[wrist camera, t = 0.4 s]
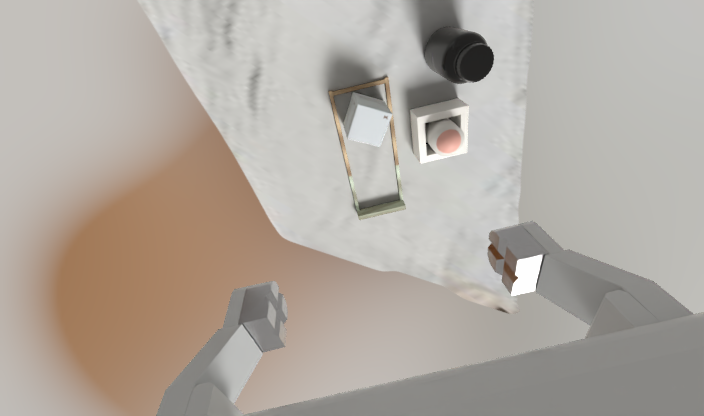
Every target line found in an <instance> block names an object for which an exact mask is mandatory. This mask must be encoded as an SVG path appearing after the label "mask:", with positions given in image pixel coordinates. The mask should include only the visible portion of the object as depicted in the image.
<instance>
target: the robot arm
mask: <svg viewBox="0 0 704 416" xmlns="http://www.w3.org/2000/svg"><path fill="white" fill-rule="evenodd" d="M489 240H490V241H491V245H490V246H489V247H488V258H489V262H490V264H491V266H492V268H493V269H494V271H495V272H497V273H499V274H501V275H502V282H503V284H504V285H505V287H506V288H507V290H508V291H509V292H510V294H511V295H517V294H522V293H527V292H532V291H536V292H537V293H538V294H540V295H541V296H543V297H544V298H546V299H548V300H550V301H551V302H553V303H554V304H556V305H557V306H559V307H561V308H562V309H564V310H566V311H567V312H569V313H571V314H572V315H574V316H575V317H577V318H579V319H580V320H582V321H584V322H585V323H587V324H589V325H590V328H589V330H588V332H587V334H586V337H585V339H581V340H577V341H572V342H568V343H563V344H559V345H554V346H550V347H545V348H541V349H536V350H532V351H528V352H523V353H518V354H514V355H509V356H505V357H500V358H496V359H492V360H487V361H482V362H478V363H474V364H469V365H464V366H460V367H455V368H451V369H447V370H442V371H438V372H433V373H429V374H424V375H420V376H415V377H411V378H407V379H402V380H397V381H393V382H388V383H384V384H380V385H375V386H371V387H367V388H362V389H357V390H353V391H348V392H344V393H339V394H335V395H331V396H326V397H321V398H317V399H312V400H308V401H304V402H299V403H294V404H290V405H285V406H281V407H277V408H272V409H268V410H263V411H259V412H254V413H250V414H245V415H244V414H243V413H242V412H241V411H240V410H239V409H238V408H237V407H236V406H235V405H234V403H235V401H236V399H237V398H238V396H239V394H240V393H241V391H242V389H243V387H244V386H245V384H246V382H247V380H248V379H249V377H250V375H251V373H252V372H253V370H254V368H255V366H256V365H257V363H258V361H259V360H260V358H261V356H262V354H263V352H267V351H270V350H274V349H278V348H282V347H285V343H286V328H285V327H284V325H283V324H284V323H285V322H286V320H287V304H286V301H285V299H284V297H283V294H281V293H278V290H279V286H278V285H277V283H276V282H275V281H271V282H266V283H261V284H256V285H252V286H248V287H243V288H238V289H235V290H234V291H233V292H232V295H231V299H230V302H229V306H228V310H227V314H226V317H225V321H224V325H223V328H222V329H218V331H217V332H216V333H215V334H214V335H213V336H212V337H211V339H210V340H209V341H208V342H207V344H206V345H205V346H204V347H203V348H202V349H201V350H200V352H199V353H198V354H197V355H196V356H195V357H194V359H192V361H191V362H190V363H189V364H188V365H187V366H186V368H185V369H184V370H183V371H182V372H181V373H180V375H179V376H178V377H177V378H176V379H175V380H174V381H173V383H172V384H171V385H170V386H169V387H168V388H167V389H166V391H165V393H164V396H163V399H162V401H161V404H160V407H159V409H158V413H157V415H156V416H704V312H702V313H698V314H693V313H692V312H690V311H689V310H688V309H687V308H685V307H684V306H683V305H682V304H681V303H679V302H678V301H677V300H676V299H675V298H673V297H672V296H671V295H669V294H668V293H667V292H666V291H665V290H663V289H662V288H661V287H660V286H659V285H657V284H656V283H655V282H654V281H651V280H649V279H646V278H643V277H641V276H638V275H635V274H633V273H630V272H627V271H625V270H622V269H619V268H616V267H614V266H611V265H609V264H606V263H603V262H601V261H598V260H595V259H593V258H590V257H587V256H585V255H582V254H579V253H576V252H574V251H571V250H563V248H562V247H561V246H560V245H559V244H557V243H556V242H555V241H554V240H553V239H552V238H551V237H550V236H549V235H548V234H547V233H546V232H545V231H544V230H543V229H542V228H541V227H540V226H539V225H538V224H537V223H535V222H533V221H530V222H526V223H522V224H518V225H513V226H509V227H505V228H501V229H496V230H492V231H491V232H490V234H489Z"/></svg>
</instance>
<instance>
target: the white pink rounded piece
mask: <svg viewBox="0 0 704 416" xmlns="http://www.w3.org/2000/svg"><path fill="white" fill-rule="evenodd" d="M425 134H426V141H427V143H428V144H429V145H430V146H431V148H432V149H433V150H434V151H435V152H436V153H437V154H438V155H440V156H450V155H453V154H454V153H456V152H457V151H458V150H459V149H460V148H461V147H462V145H463V143H464V132H463V131H462V129H461V128H459V127H458V126H457V125H456V124H455V123H454V122H453V121H451V120H450V119H449V118H444V119H440V120H436V121H432V122H430V123H429V124H428V125H427V127H426V129H425Z"/></svg>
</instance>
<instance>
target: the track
mask: <svg viewBox="0 0 704 416" xmlns="http://www.w3.org/2000/svg"><path fill="white" fill-rule="evenodd" d="M384 83H385V87H386V95H387V103H388V108H389V109H390V111H391V112H392V104H391V96H390V88H389V79H388V77H385V78H384V79H382V80H378V81H374V82H370V83H366V84H362V85H358V86H353V87H349V88H345V89H341V90H337V91H333V92H332V91H329V95H330V100H331V104H332V108H333V112H334V116H335V121H336V125H337V129H338V133H339V137H340V142H341V146H342V150H343V154H344V158H345V163H346V167H347V171H348V175H349V179H350V184H351V188H352V192H353V196H354V200H355V205H356V209H357V213H358V217H359V220H362V219H366V218H370V217H375V216H379V215H383V214H387V213H392V212H396V211H400V210H404V209H406V206H405V204H404V201H403V196H402V188H401V180H400V171H399V163H398V154H397V146H396V138H395V129H394V121H393V113H392V117H391V120H390V126H391V134H392V142H393V150H394V158H395V166H396V173H397V181H398V189H399V197H400V200H398V201H393V202H389V203H385V204H381V205H376V206H372V207H368V208H364V209H359V205H358V201H357V197H356V192H355V188H354V184H353V179H352V175H351V171H350V166H349V162H348V158H347V153H346V149H345V145H344V140H343V136H342V132H341V127H340V123H339V119H338V114H337V110H336V106H335V101H334V97H333V96H334V95H338V94H343V93H347V92H351V91H355V90H359V89H363V88H367V87H371V86H376V85H380V84H384Z"/></svg>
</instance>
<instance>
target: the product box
mask: <svg viewBox="0 0 704 416" xmlns="http://www.w3.org/2000/svg"><path fill="white" fill-rule="evenodd" d="M391 117H392V112H391V111H390V109H389V108H388V106H387V105H386V104H385V102H384V101H383V100H380V99H376V98H373V97H369V96H366V95H362V94H359V93H355V92H353V93H352V96H351V100H350V104H349V107H348V110H347V113H346V116H345V119H344V122H343V125H344V129H345V132H346V136H347V139H349V140H353V141H357V142H361V143H365V144H369V145H373V146H377V147H380V146H381V143H382V141H383V138H384V135H385V133H386V131H387V128H388V125H389V122H390V120H391Z"/></svg>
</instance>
